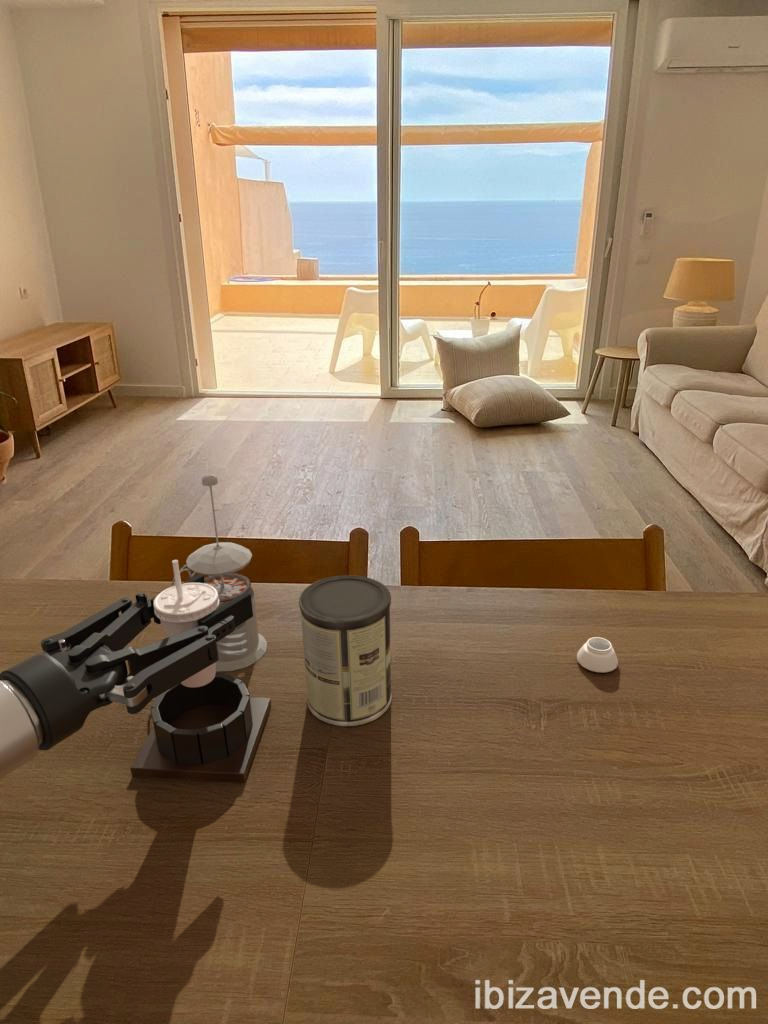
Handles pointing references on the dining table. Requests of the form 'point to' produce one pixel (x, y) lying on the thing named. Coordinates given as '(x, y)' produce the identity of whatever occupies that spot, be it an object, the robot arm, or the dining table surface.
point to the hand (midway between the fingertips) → (225, 594)
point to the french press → (228, 594)
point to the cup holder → (203, 732)
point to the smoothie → (186, 615)
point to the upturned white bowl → (597, 655)
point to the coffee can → (347, 649)
